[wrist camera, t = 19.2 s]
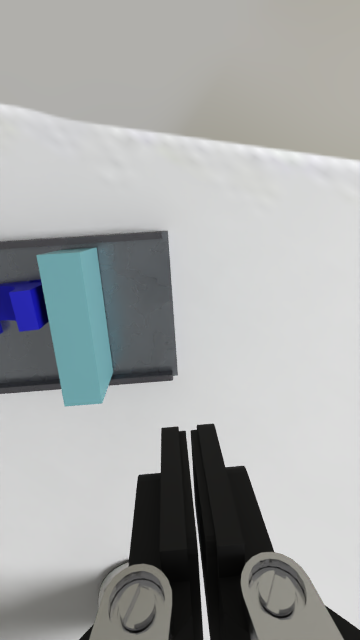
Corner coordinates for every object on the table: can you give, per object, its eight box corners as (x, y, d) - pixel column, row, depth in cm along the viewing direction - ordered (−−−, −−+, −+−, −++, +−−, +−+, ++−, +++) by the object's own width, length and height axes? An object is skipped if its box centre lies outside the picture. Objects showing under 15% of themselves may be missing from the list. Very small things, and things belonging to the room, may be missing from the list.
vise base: (177, 369, 33) (180, 407, 26) (-86, 389, 32) (-157, 435, 25) (167, 230, 29) (168, 231, 22) (-132, 250, 28) (-232, 257, 21)
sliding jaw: (113, 372, 31) (102, 403, 26) (82, 374, 31) (64, 406, 25) (96, 247, 28) (79, 252, 22) (62, 249, 28) (36, 255, 22)
